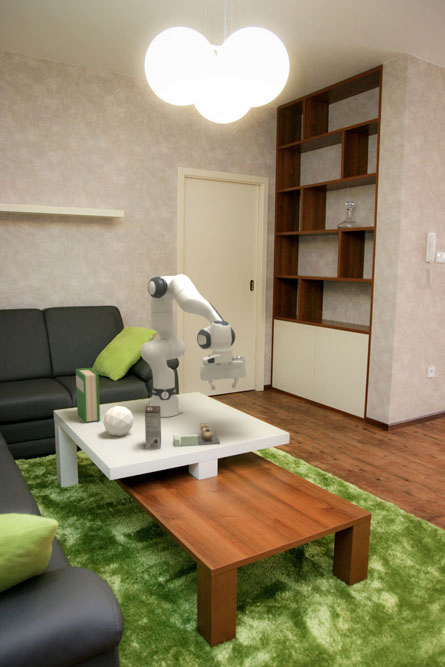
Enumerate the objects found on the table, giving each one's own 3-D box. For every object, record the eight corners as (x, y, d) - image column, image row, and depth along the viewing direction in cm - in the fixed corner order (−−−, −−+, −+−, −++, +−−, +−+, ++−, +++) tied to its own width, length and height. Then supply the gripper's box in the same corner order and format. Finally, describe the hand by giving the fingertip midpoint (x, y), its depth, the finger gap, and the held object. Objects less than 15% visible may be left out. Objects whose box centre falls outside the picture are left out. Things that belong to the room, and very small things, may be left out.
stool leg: (212, 439, 228) (212, 430, 227) (204, 439, 227) (204, 430, 226) (207, 429, 241) (207, 421, 241) (199, 430, 240) (199, 421, 240)
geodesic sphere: (99, 418, 245) (101, 399, 236) (128, 414, 250) (132, 396, 241) (104, 443, 236) (106, 424, 227) (134, 439, 241) (138, 421, 232)
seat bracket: (173, 441, 228) (173, 432, 228) (195, 440, 230) (195, 431, 230) (174, 446, 222) (174, 437, 222) (197, 445, 224) (197, 436, 224)
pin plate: (196, 438, 233) (196, 436, 233) (216, 437, 234) (216, 435, 234) (199, 445, 224) (198, 442, 224) (219, 443, 226) (219, 441, 226)
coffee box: (146, 442, 228) (145, 405, 226) (161, 441, 229) (160, 405, 227) (145, 449, 219) (144, 411, 217) (160, 448, 220) (160, 411, 218)
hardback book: (100, 421, 259) (98, 373, 256) (84, 423, 256) (83, 375, 253) (91, 413, 275) (90, 367, 272) (77, 414, 272) (75, 368, 269)
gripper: (243, 355, 237) (244, 385, 238) (198, 358, 232) (200, 389, 233) (247, 356, 231) (248, 388, 232) (201, 360, 226) (203, 392, 227)
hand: (223, 388), depth 233 cm, fingers open, 8 cm apart
